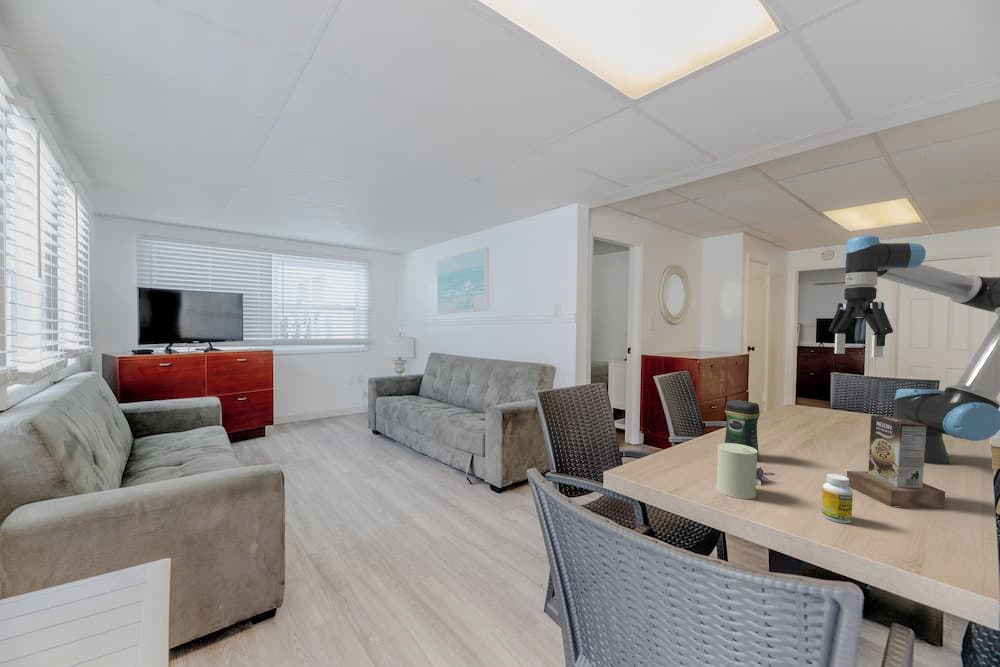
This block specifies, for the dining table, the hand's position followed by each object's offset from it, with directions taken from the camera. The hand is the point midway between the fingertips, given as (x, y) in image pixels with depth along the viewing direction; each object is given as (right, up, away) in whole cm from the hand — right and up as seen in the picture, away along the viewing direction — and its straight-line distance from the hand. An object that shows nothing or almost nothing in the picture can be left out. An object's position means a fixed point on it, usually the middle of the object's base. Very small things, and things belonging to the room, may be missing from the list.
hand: (857, 355), depth 129 cm
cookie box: (-10, -32, -22) cm, 40 cm away
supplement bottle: (-35, -36, -35) cm, 61 cm away
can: (-50, -35, -21) cm, 64 cm away
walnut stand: (-10, -35, -22) cm, 43 cm away
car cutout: (-36, -35, -11) cm, 52 cm away
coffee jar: (-32, -34, +8) cm, 47 cm away
